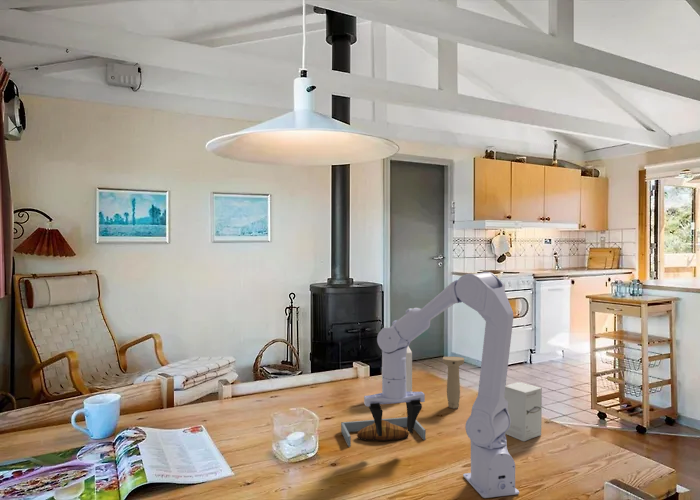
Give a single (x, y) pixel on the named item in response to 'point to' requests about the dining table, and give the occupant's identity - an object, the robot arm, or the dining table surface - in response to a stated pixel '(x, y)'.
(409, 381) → the milk carton
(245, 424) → the dining table surface
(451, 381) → the handle
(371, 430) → the croissant
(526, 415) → the supplement box
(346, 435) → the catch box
